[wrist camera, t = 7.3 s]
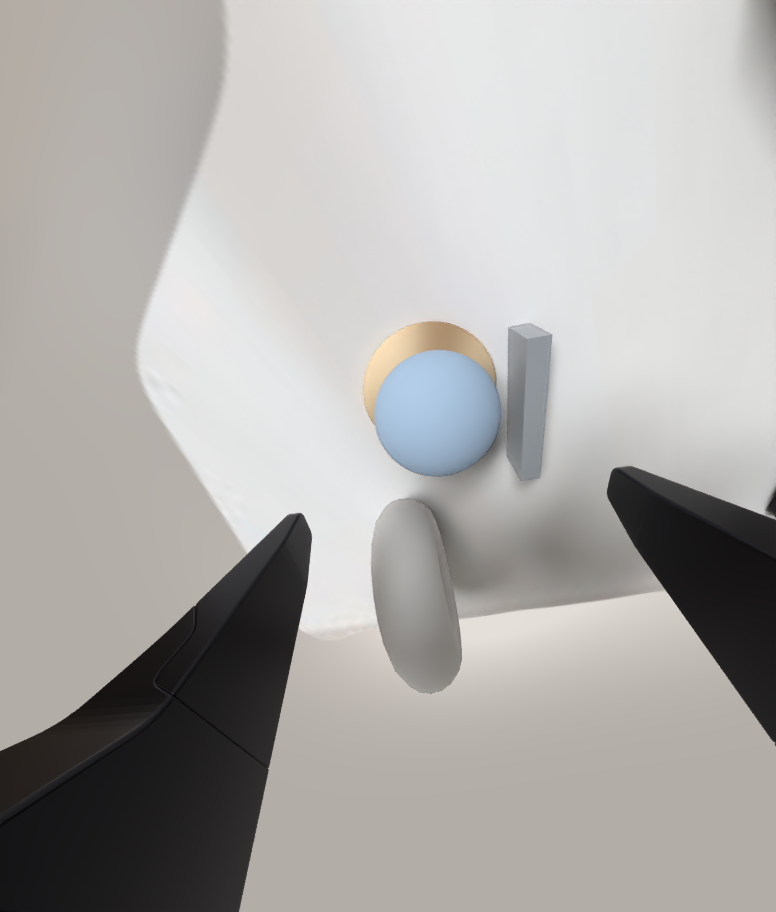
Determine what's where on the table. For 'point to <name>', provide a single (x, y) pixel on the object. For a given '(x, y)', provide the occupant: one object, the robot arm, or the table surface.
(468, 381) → the ball
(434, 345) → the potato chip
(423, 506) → the white plump rounded part
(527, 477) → the gray rectangular bar
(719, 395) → the table surface
